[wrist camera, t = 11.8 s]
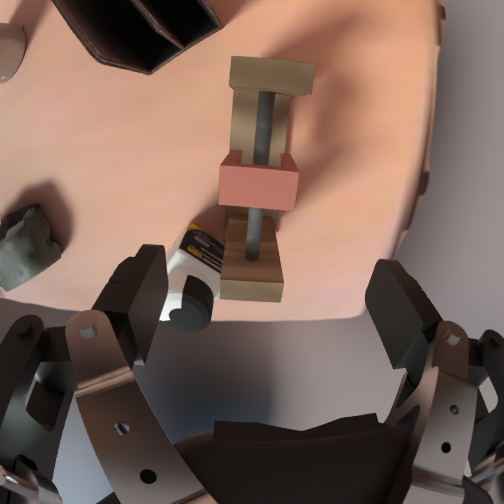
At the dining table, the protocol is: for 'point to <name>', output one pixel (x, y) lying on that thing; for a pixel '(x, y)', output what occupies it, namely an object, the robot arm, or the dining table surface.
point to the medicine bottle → (192, 280)
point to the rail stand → (261, 153)
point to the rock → (25, 246)
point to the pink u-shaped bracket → (258, 183)
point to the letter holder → (138, 29)
